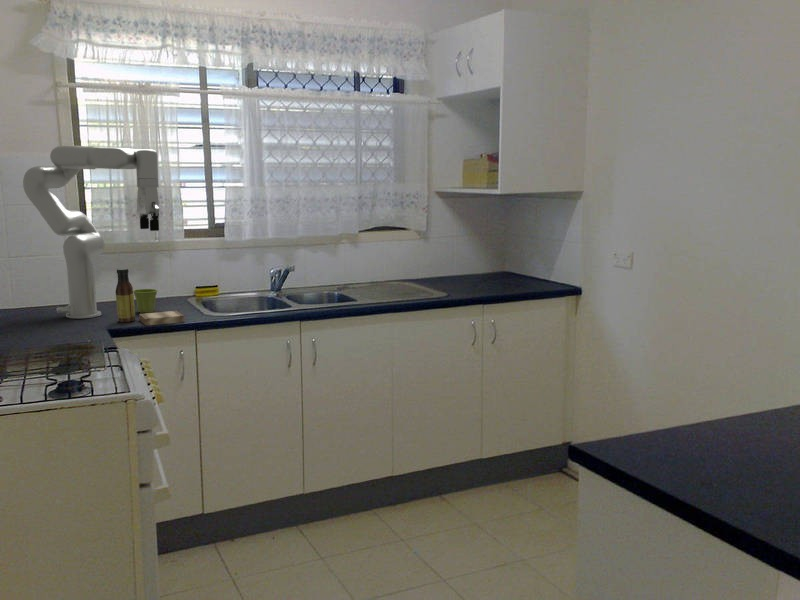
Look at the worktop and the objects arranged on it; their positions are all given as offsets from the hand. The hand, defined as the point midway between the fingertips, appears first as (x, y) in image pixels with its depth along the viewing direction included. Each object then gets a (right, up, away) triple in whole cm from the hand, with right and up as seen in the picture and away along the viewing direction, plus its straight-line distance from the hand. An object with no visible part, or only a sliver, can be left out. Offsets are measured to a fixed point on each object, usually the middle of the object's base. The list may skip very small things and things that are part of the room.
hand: (149, 229), depth 278 cm
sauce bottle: (-9, -34, +1) cm, 36 cm away
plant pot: (-8, -31, +20) cm, 38 cm away
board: (+4, -34, +1) cm, 35 cm away
